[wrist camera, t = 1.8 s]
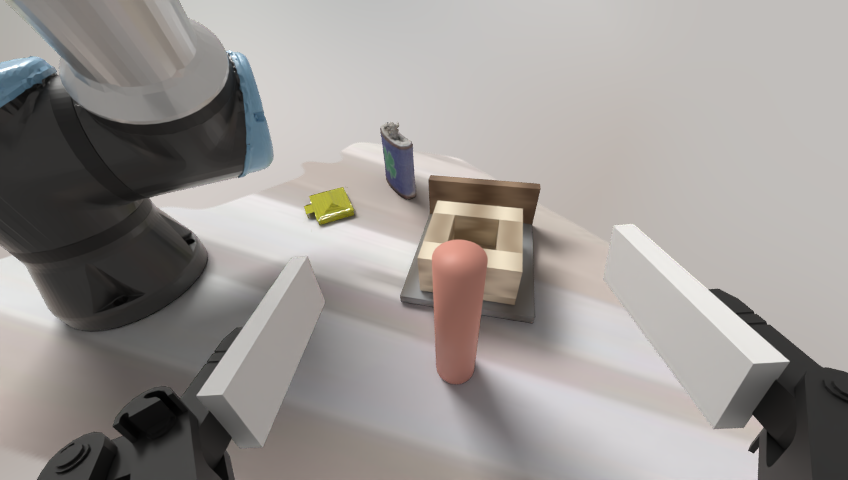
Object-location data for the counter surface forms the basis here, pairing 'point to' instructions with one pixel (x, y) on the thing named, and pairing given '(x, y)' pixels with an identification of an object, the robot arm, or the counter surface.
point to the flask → (398, 161)
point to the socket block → (491, 232)
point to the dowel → (457, 306)
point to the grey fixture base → (493, 196)
